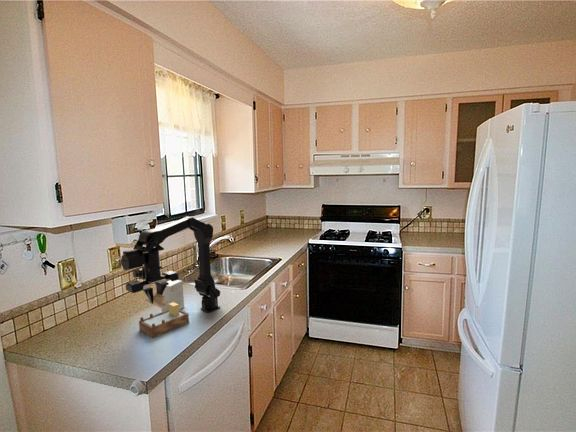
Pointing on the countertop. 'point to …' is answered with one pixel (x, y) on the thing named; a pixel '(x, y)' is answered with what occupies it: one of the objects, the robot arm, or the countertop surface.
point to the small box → (173, 294)
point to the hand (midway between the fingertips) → (155, 302)
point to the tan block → (157, 299)
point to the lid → (165, 315)
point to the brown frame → (163, 324)
